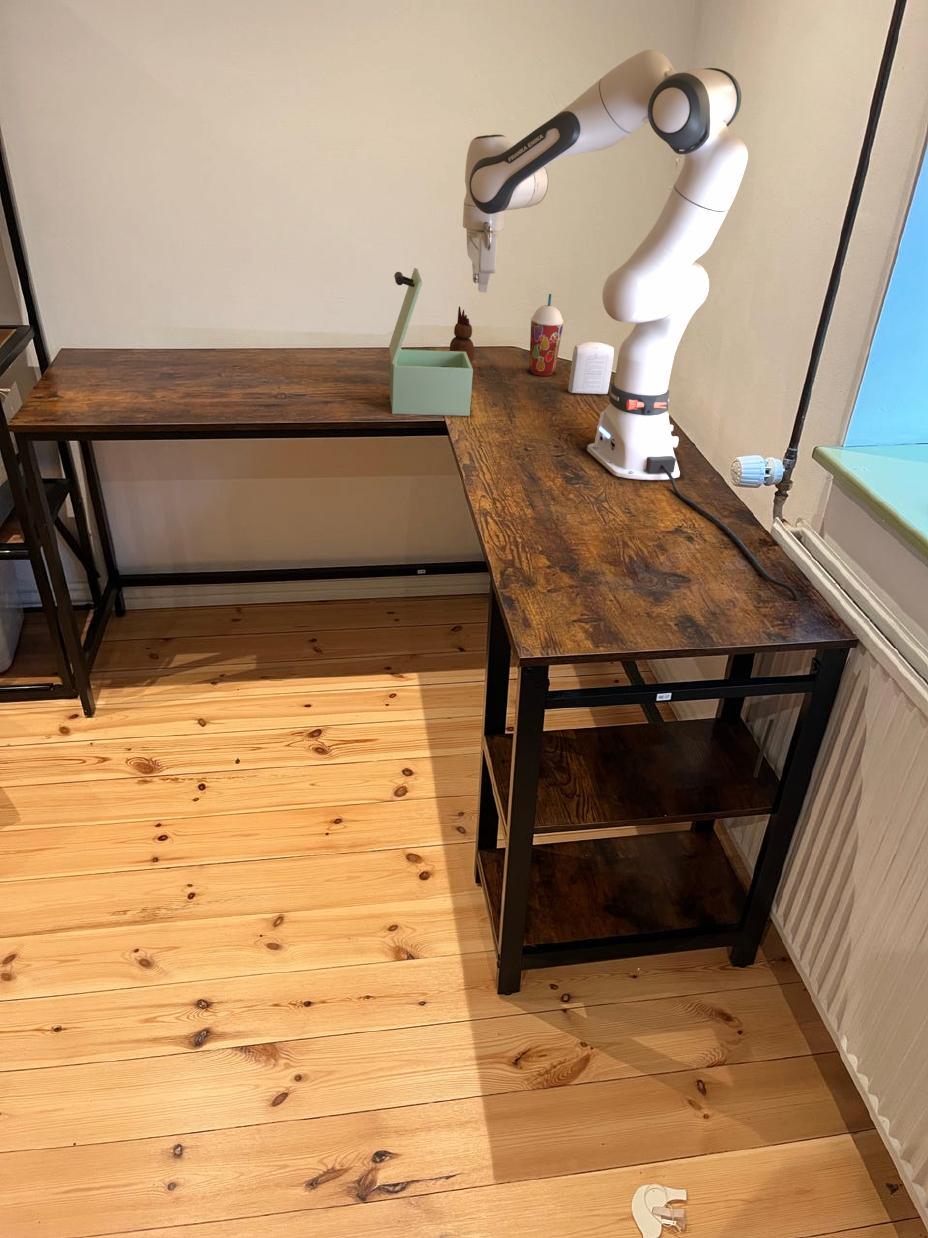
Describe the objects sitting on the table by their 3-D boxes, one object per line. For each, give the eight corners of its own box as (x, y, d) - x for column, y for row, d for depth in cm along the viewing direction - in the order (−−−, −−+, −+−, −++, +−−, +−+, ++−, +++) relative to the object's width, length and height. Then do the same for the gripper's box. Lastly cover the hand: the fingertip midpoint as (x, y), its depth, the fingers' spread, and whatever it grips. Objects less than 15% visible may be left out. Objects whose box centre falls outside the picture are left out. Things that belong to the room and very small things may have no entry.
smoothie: (563, 372, 252) (572, 294, 242) (548, 379, 246) (557, 299, 236) (535, 365, 256) (543, 288, 246) (520, 372, 250) (527, 293, 240)
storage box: (462, 396, 230) (465, 351, 225) (469, 415, 219) (473, 368, 213) (389, 394, 228) (390, 348, 222) (392, 413, 216) (393, 366, 211)
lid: (417, 268, 214) (396, 261, 212) (422, 282, 202) (399, 274, 201) (392, 347, 222) (371, 340, 221) (395, 364, 211) (373, 357, 209)
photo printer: (605, 389, 242) (612, 340, 236) (610, 395, 239) (617, 345, 232) (566, 388, 241) (572, 339, 234) (569, 394, 237) (576, 344, 231)
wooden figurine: (445, 363, 252) (448, 305, 245) (465, 362, 255) (469, 304, 247) (455, 371, 247) (459, 311, 240) (476, 369, 249) (480, 310, 242)
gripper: (506, 227, 195) (500, 297, 202) (491, 212, 213) (487, 277, 220) (475, 226, 194) (471, 297, 201) (463, 211, 212) (460, 276, 219)
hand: (479, 286), depth 211 cm, fingers open, 8 cm apart
